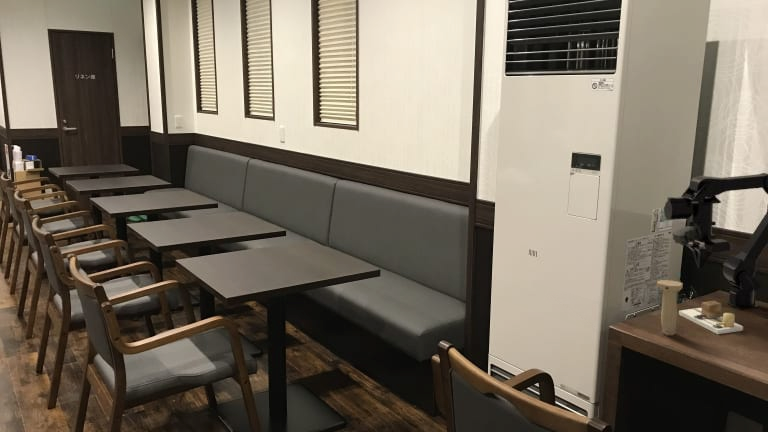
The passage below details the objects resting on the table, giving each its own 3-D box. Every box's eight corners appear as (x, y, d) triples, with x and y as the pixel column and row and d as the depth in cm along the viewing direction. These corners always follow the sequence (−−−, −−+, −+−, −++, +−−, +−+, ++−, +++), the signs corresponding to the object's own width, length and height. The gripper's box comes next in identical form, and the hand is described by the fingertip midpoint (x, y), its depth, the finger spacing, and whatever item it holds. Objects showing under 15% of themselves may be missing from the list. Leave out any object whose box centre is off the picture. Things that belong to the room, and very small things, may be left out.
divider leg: (713, 313, 180) (713, 300, 180) (720, 316, 177) (721, 303, 177) (693, 316, 179) (694, 303, 178) (700, 319, 176) (701, 306, 176)
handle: (678, 339, 168) (679, 287, 165) (653, 334, 172) (654, 283, 169) (683, 333, 171) (684, 282, 168) (659, 328, 175) (660, 279, 173)
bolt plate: (702, 311, 187) (702, 297, 186) (742, 330, 171) (743, 315, 170) (678, 314, 185) (679, 300, 184) (717, 334, 169) (718, 319, 168)
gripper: (658, 215, 192) (657, 262, 195) (699, 226, 174) (697, 278, 177) (690, 211, 194) (688, 259, 197) (733, 222, 176) (731, 274, 179)
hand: (699, 267), depth 187 cm, fingers closed
